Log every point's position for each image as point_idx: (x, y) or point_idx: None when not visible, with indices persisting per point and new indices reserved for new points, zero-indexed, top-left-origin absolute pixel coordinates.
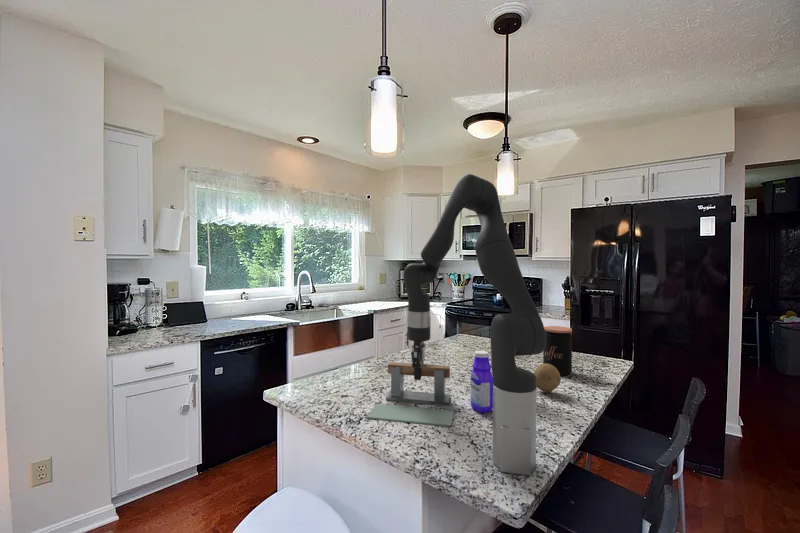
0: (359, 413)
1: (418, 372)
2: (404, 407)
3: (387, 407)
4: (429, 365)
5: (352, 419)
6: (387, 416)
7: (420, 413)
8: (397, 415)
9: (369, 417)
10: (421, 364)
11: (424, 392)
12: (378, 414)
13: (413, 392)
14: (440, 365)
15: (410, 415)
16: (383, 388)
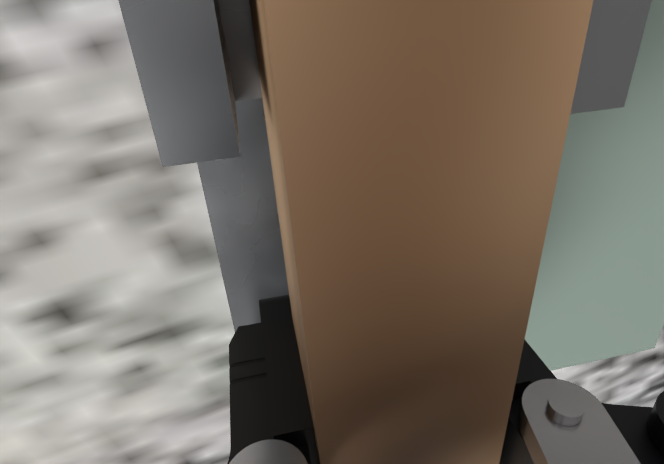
0: (590, 389)
1: (524, 355)
2: None
3: (534, 314)
4: (387, 314)
5: (654, 381)
6: (661, 265)
7: (634, 84)
8: (654, 220)
9: (658, 334)
10: (549, 447)
11: (202, 179)
12: (630, 314)
13: (247, 266)
14: (285, 4)
15: (660, 144)
16: (192, 461)
